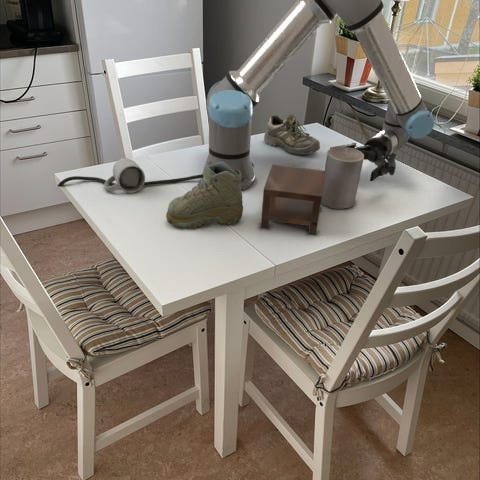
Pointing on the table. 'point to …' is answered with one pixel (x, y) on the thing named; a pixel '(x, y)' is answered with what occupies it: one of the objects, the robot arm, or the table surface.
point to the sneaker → (209, 199)
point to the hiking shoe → (290, 136)
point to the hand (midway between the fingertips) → (349, 169)
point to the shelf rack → (293, 196)
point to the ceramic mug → (126, 176)
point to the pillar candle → (341, 177)
